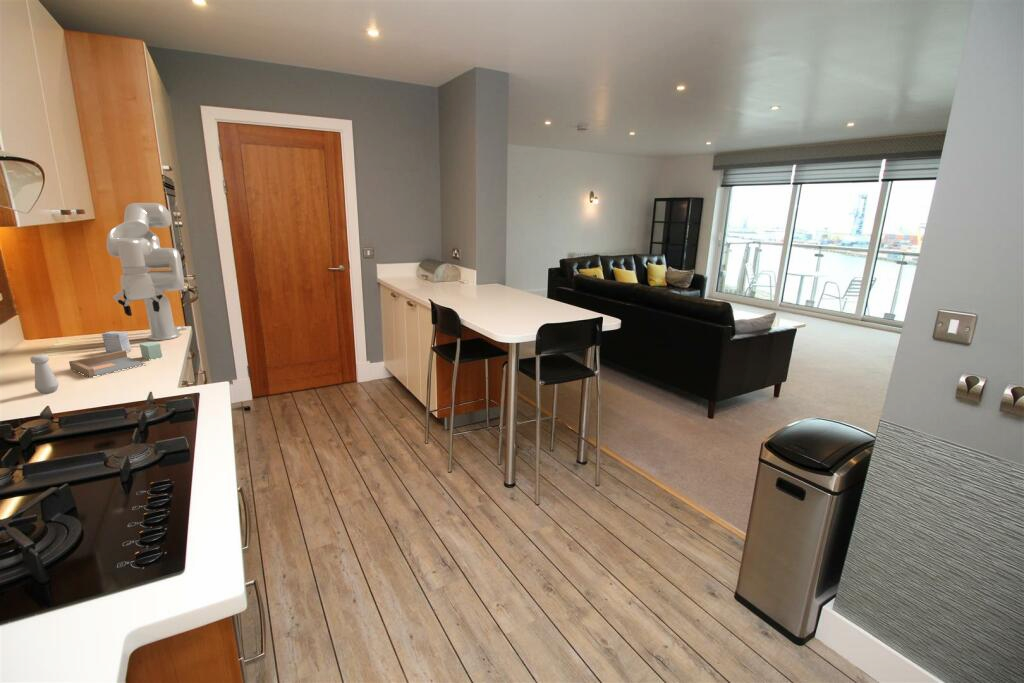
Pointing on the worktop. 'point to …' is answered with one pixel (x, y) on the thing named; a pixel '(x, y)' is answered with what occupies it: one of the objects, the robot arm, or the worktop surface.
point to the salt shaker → (44, 375)
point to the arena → (104, 363)
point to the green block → (151, 350)
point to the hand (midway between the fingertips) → (143, 313)
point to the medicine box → (116, 341)
